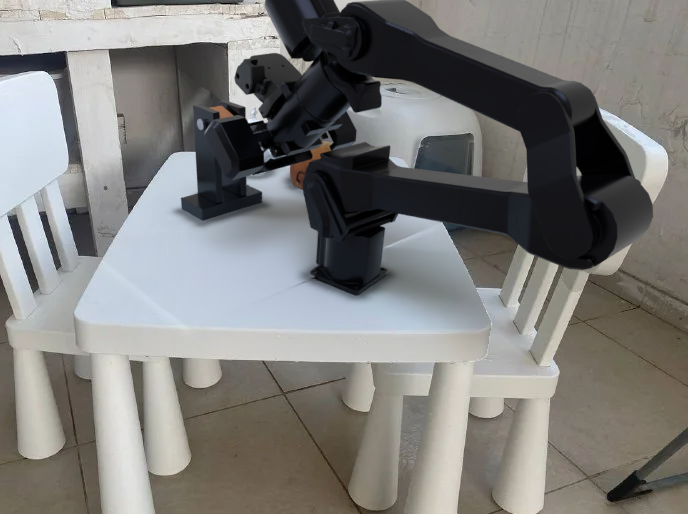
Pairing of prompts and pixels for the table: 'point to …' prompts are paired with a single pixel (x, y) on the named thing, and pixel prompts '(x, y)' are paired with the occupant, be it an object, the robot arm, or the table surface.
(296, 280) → the table surface
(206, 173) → the stand
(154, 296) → the table surface
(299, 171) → the bread roll
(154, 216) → the table surface
